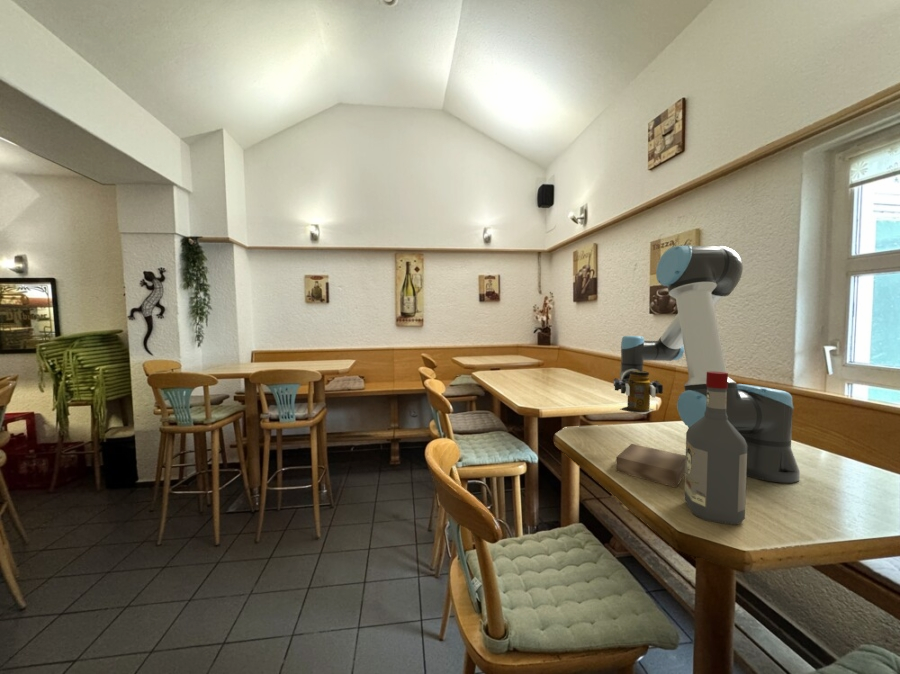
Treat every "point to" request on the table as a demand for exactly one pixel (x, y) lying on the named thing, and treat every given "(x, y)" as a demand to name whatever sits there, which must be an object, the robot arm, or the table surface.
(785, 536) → the table surface
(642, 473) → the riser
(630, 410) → the condiment
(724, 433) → the liquor
